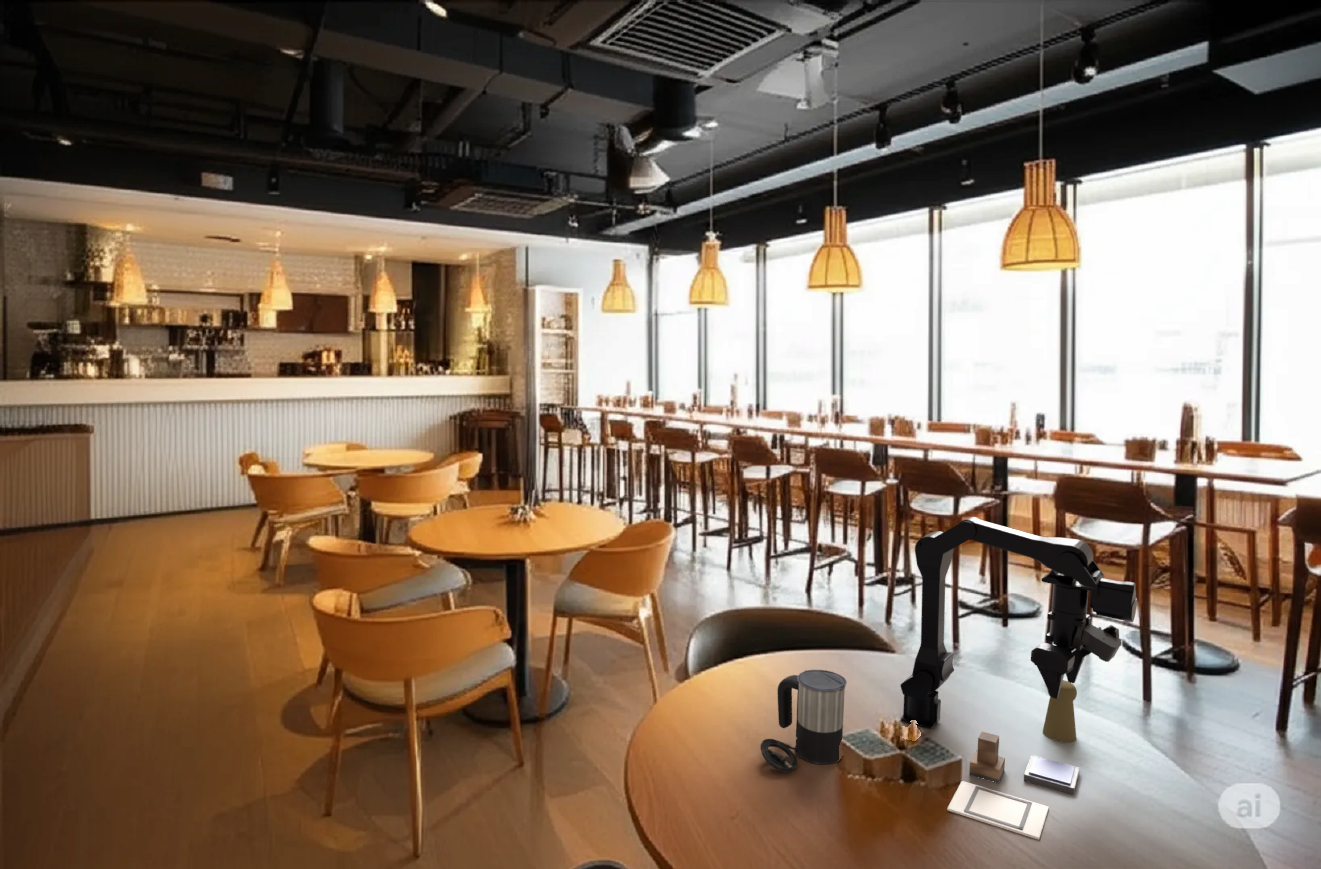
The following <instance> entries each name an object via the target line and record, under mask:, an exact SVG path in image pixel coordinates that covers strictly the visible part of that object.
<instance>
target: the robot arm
mask: <svg viewBox="0 0 1321 869" xmlns="http://www.w3.org/2000/svg"><path fill="white" fill-rule="evenodd" d="M969 541H973V542H977V543H980V544H983V545H986V546H989V547H993V548H997V549H1000V550H1004V551H1007V552H1010V553H1012V554H1013V553H1015V554H1017V555H1021V556H1024V557H1028V558H1031V559H1033V560H1034V561H1037V562H1039V563H1040V564H1041V565H1043V566H1045V568H1048V569H1050V571H1049V572H1048V573H1046V574H1045V575H1044V576H1042V578H1041V579H1040V581H1041V582H1042V583H1046V584H1051V585H1052V597H1051V598H1052V600H1051V610H1050V611H1049V612H1047V620H1050V626H1049V627H1050V628H1049V632H1048V633H1047V634H1046V635H1045V641H1047V642H1050V643H1051V642H1052V643H1053V644H1050V643H1047V642H1042V643H1041V644H1039V645H1038V646H1036V647H1035V648H1033V649H1032V650H1031V651H1030V653H1031V654H1030V661H1031V662H1032V663H1033V664H1034V666H1036V667H1037V669H1038V672H1039V673H1040V675H1041V677H1042V680H1043V682H1044V684H1045V687H1046V689H1048V690H1047V692H1048V691H1049V694H1050V696H1051V697H1052V698H1055V699H1057V698H1058V696H1059V692H1060V689H1061V685H1062V681H1063V680H1064V676H1065V675H1066V678H1067V681H1068V682H1070V683H1072V684H1075V683H1076V681H1077V678H1078V676H1079V672H1080V670H1081V667H1082V665H1083V663H1084V660H1085V658H1086V657H1087V656H1088V655H1090V654H1093V655H1095V656H1096V657H1098V659H1099V660H1101V661H1103V662H1107V663H1109V662H1110V661H1111V660H1112V659H1113V658H1115V656H1116V654H1117V652H1118V650H1119V649H1120V647H1121V646H1122V644H1123V643H1122V642H1123V641H1122V638H1120V628H1118V627H1116V626H1113V625H1112V624H1111V625H1109V626H1106V627H1105V628H1103V629H1102V626H1098V627H1097V626H1095V625H1093V624H1092V617H1091V615H1090V614H1088V603H1089V608H1090V609H1092V612H1093V613H1096V614H1095V615H1096V616H1100V617H1105V618H1108V619H1113V620H1114V619H1115V620H1119V621H1123V622H1129V623H1134V621H1135V616H1136V612H1137V607H1138V606H1137V605H1138V604H1137V603H1138V598H1137V590H1136V583H1135V582H1133V581H1132V582H1131V581H1121V580H1120V581H1119V580H1113V579H1108V578H1105V574H1104V573H1103V571H1102V570H1101V569H1100V567H1099V566H1098V564H1097V563H1096V561H1095V560H1094V552H1093V550H1092V548H1091V547H1090V545H1089V544H1088V543H1087V542H1085V541H1083V540H1081V539H1077V538H1075V539H1074V538H1068V537H1055V536H1054V537H1053V536H1051V537H1049V536H1040V535H1037V534H1036V535H1035V534H1033V533H1028V532H1025V531H1022V530H1018V529H1014V528H1011V527H1007V526H1004V525H1000V524H997V523H993V522H989V521H986V520H982V519H980V518H978V517H976V516H969V517H967V518H965V519H962V520H961V521H960V522H958V524H956V525H955V526H953V527H950V528H949V529H947V530H945V531H940V530H938V531H937V530H936V531H932V532H930V533H928V534H926V535H924V536H923V537H921V538H919V539H918V540H917V541H916V543H915V545H914V553H915V562H916V566H917V569H918V571H919V573H920V575H921V614H920V616H921V620H920V622H921V623H920V624H921V625H920V626H921V627H920V646H919V648H918V652H917V655H916V657H915V659H914V664H913V668H912V674H910V676H908V677H907V678H906V679H905V680H904V681H903V682H902V683H901V684H900V688H901V689H900V690H901V692H902V695H903V711H902V712H903V713H902V715H901V716H900V721H902V722H904V723H908V722H910V721H911V720H916V721H917V723H918V724H919V725H921V727H924V728H928V729H933V728H934V726H935V725H936V724H937V723H938V722H939V721H940V720H941V710H942V709H941V707H942V706H941V705H942V700H941V699H940V698H939V691H938V689H939V688H940V687H941V686H943V684H944V683H945V682H946V681H947V680H948V679H950V677H951V675H952V674H953V673H954V671H955V669H954V664H953V662H954V658H955V653H954V652H949V651H947V648H946V646H945V615H946V614H945V613H946V612H945V608H946V577H947V575H948V571H949V569H950V566H951V563H952V559H953V554H954V551H955V548H957V547H958V546H960V545H962V544H964V543H966V542H969ZM1089 592H1090V598H1089ZM1088 600H1089V602H1088ZM1049 694H1048V695H1049ZM1050 696H1049V697H1050ZM919 725H918V726H919Z"/></svg>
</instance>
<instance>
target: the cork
mask: <svg viewBox="0 0 1321 869" xmlns="http://www.w3.org/2000/svg"><path fill="white" fill-rule="evenodd" d="M1046 689H1047V688H1046ZM1047 693H1048V695H1049V700H1048V704H1047V705H1048V706H1047V710H1046V715H1045V719H1044V723H1043V728H1042V733H1043V734H1042V735H1044V736H1045V737H1046V738H1048V739H1051V740H1052V739H1053V741H1055V742H1060V743H1072V742H1075V741H1077V730H1076V729H1077V728H1076V719H1075V718H1076V716H1075V707H1074V705H1075V704H1074V701H1075V700H1076V697H1077V696H1078V691H1077V687H1076V686H1075V684H1074V683H1070V682H1068V680H1065V679H1063V681H1062V685H1061V689H1060V692H1059V696H1058V698H1057V699H1055V698H1052V697H1051V696H1050V694H1049V691H1048V689H1047Z"/></svg>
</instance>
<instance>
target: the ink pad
mask: <svg viewBox="0 0 1321 869" xmlns="http://www.w3.org/2000/svg"><path fill="white" fill-rule="evenodd" d="M1079 777H1080V767H1078V766H1074V765H1070V764H1068V763H1063V762H1059V761H1055V760H1052V759H1049V758H1044V757H1040V756H1036V755H1034V754H1031V755H1030V758H1029V761H1028V763H1027V766H1026V768H1025V771H1024V773H1023V781H1024V782H1028V783H1031V784H1035V785H1037V786H1041V787H1046V788H1049V789H1053V790H1055V791H1059V792H1061V793H1064V794H1065V793H1066V794H1070V795H1073V796H1075V791H1076V787H1077V783H1078V780H1079Z"/></svg>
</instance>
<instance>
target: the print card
mask: <svg viewBox="0 0 1321 869" xmlns="http://www.w3.org/2000/svg"><path fill="white" fill-rule="evenodd" d="M1049 807H1050V806H1049V805H1048V806H1047V805H1044V804H1041V803H1037V802H1034V801H1031V800H1028V799H1024V798H1020V797H1018V796H1016V795H1015V796H1014V795H1011V794H1008V793H1004V792H1001V791H999V790H998V791H997V790H994V789H991V788H988V787H984V786H980V785H977V784H974V783H970V782H968V781H964V780H962V781H960V783H959V785H958V788H957V790H956V791H955V792H954V795H953V797H952V798H951V801H950V803H949V805H948V806H947V812H951V813H953V814H957V815H962V816H964V817H967V818H970V819H973V820H975V821H979V822H982V823H986V824H988V825H992V826H994V827H998V828H1001V829H1003V830H1007V831H1011V832H1013V833H1016V834H1020V835H1023V836H1026V837H1029V838H1032V839H1035V840H1038V841H1039V840H1040V838H1041V834H1042V831H1043V828H1044V826H1045V823H1046V818H1047V816H1048V813H1049Z"/></svg>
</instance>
